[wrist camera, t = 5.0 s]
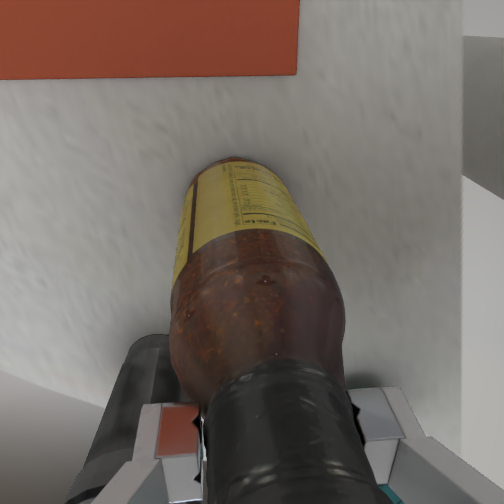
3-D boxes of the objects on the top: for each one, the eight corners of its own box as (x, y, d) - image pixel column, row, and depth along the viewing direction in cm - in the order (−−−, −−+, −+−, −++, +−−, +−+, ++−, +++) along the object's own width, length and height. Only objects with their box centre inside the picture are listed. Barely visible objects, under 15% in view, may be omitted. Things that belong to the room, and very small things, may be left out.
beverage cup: (86, 362, 29) (-94, 852, 12) (152, 300, 27) (48, 787, 10) (165, 407, 32) (112, 854, 15) (230, 354, 30) (256, 803, 13)
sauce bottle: (236, 266, 27) (276, 719, 9) (161, 203, 24) (27, 665, 7) (313, 199, 25) (542, 610, 7) (240, 123, 22) (333, 480, 5)
